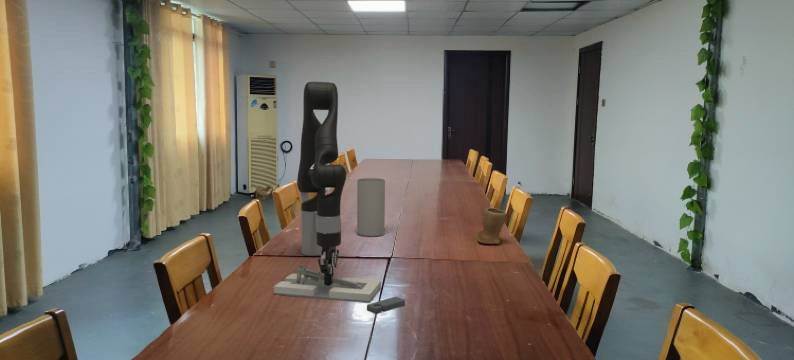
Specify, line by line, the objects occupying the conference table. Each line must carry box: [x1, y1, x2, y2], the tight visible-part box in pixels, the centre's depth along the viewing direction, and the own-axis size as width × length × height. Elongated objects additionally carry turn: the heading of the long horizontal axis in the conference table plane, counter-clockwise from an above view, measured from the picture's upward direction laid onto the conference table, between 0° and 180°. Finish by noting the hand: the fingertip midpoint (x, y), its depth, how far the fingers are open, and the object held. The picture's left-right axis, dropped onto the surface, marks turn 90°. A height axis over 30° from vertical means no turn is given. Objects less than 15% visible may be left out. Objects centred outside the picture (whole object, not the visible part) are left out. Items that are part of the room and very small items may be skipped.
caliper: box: [296, 263, 362, 288], centre depth 170 cm, size 21×1×6 cm, turn 78°
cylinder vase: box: [356, 177, 386, 238], centre depth 249 cm, size 12×12×25 cm
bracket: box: [366, 296, 406, 315], centre depth 157 cm, size 4×11×2 cm, turn 132°
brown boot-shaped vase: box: [475, 207, 507, 245], centre depth 238 cm, size 15×12×15 cm
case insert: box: [273, 272, 382, 304], centre depth 170 cm, size 14×30×2 cm, turn 78°
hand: (328, 284), depth 170 cm, fingers closed on caliper, 1 cm apart
